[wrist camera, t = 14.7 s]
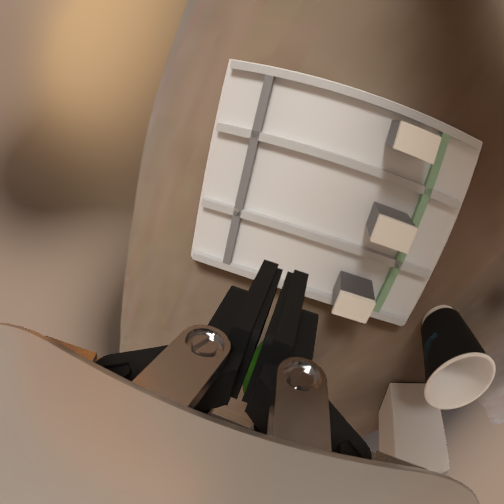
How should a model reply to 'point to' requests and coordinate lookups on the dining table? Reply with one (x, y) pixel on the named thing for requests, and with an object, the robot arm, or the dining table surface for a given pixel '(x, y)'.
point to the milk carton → (412, 428)
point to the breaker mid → (390, 227)
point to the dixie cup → (453, 360)
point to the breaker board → (324, 185)
